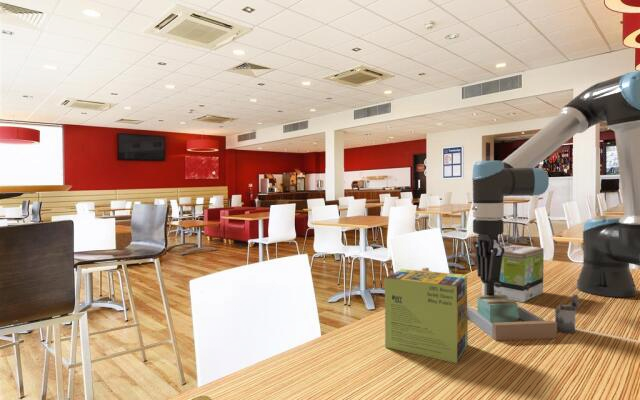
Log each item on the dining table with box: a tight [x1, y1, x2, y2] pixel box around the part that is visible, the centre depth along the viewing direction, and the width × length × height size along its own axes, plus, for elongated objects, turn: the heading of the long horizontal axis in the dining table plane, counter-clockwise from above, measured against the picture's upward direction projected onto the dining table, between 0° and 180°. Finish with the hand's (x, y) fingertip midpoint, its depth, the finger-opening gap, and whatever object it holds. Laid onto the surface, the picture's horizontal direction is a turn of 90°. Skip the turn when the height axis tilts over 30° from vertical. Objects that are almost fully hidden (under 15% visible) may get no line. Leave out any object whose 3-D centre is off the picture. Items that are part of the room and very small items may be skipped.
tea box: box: [494, 244, 545, 303], centre depth 119 cm, size 15×10×15 cm, turn 131°
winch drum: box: [554, 294, 579, 334], centre depth 90 cm, size 5×4×8 cm
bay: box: [467, 304, 558, 341], centre depth 96 cm, size 14×22×4 cm, turn 2°
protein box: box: [384, 268, 469, 364], centre depth 83 cm, size 10×15×16 cm
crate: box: [477, 294, 519, 323], centre depth 99 cm, size 7×7×6 cm
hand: (488, 305), depth 103 cm, fingers closed
